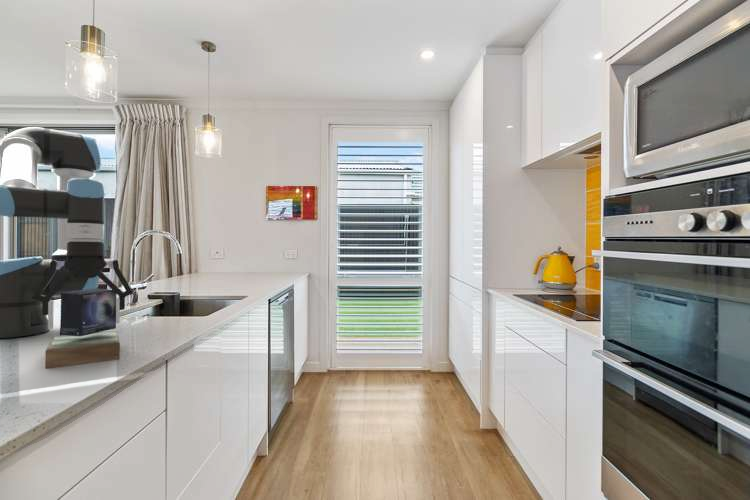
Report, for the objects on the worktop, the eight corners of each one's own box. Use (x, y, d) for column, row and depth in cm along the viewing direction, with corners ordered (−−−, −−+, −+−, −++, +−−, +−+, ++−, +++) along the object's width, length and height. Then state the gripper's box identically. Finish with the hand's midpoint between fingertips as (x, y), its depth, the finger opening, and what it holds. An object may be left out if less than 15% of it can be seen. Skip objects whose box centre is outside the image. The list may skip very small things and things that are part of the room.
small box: (81, 337, 93) (81, 293, 93) (58, 335, 95) (58, 292, 95) (117, 328, 104) (118, 288, 104) (97, 327, 105) (97, 288, 105)
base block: (52, 352, 101) (52, 336, 101) (117, 345, 109) (117, 330, 109) (45, 368, 88) (45, 349, 88) (119, 358, 96) (119, 341, 96)
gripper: (16, 239, 89) (16, 333, 89) (144, 241, 103) (143, 322, 103) (22, 240, 95) (22, 328, 95) (142, 241, 109) (141, 318, 109)
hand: (85, 325), depth 99 cm, fingers open, 13 cm apart
